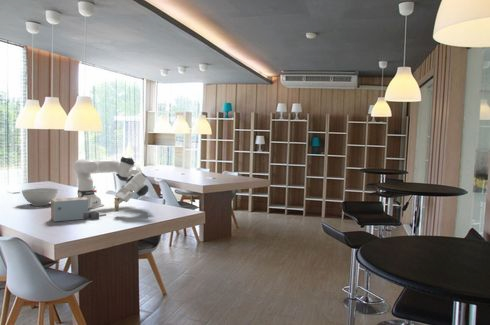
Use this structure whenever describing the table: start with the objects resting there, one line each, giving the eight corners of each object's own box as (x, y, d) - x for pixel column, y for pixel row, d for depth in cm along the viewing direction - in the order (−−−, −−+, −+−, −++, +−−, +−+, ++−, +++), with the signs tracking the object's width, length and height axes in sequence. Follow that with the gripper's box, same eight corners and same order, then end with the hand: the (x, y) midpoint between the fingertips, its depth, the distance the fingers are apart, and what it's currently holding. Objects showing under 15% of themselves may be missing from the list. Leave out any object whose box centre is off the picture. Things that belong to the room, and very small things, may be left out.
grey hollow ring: (97, 216, 279) (97, 210, 279) (100, 218, 273) (100, 212, 273) (82, 218, 273) (82, 212, 272) (84, 220, 267) (84, 213, 267)
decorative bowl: (54, 201, 342) (54, 187, 341) (61, 205, 321) (61, 191, 320) (19, 203, 325) (19, 189, 324) (24, 208, 304) (24, 193, 303)
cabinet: (84, 216, 281) (84, 196, 280) (88, 218, 273) (88, 198, 272) (51, 219, 268) (51, 199, 267) (53, 221, 260) (53, 201, 259)
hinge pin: (116, 210, 285) (116, 197, 285) (120, 211, 284) (120, 197, 284) (113, 211, 282) (113, 197, 282) (116, 211, 281) (117, 198, 280)
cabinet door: (87, 218, 272) (87, 198, 272) (88, 218, 270) (88, 199, 269) (53, 221, 260) (53, 201, 259) (54, 221, 258) (54, 201, 257)
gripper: (137, 194, 281) (123, 208, 276) (127, 191, 297) (114, 204, 292) (131, 188, 278) (117, 203, 273) (121, 185, 294) (108, 199, 289)
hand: (115, 203), depth 282 cm, fingers closed on hinge pin, 3 cm apart
